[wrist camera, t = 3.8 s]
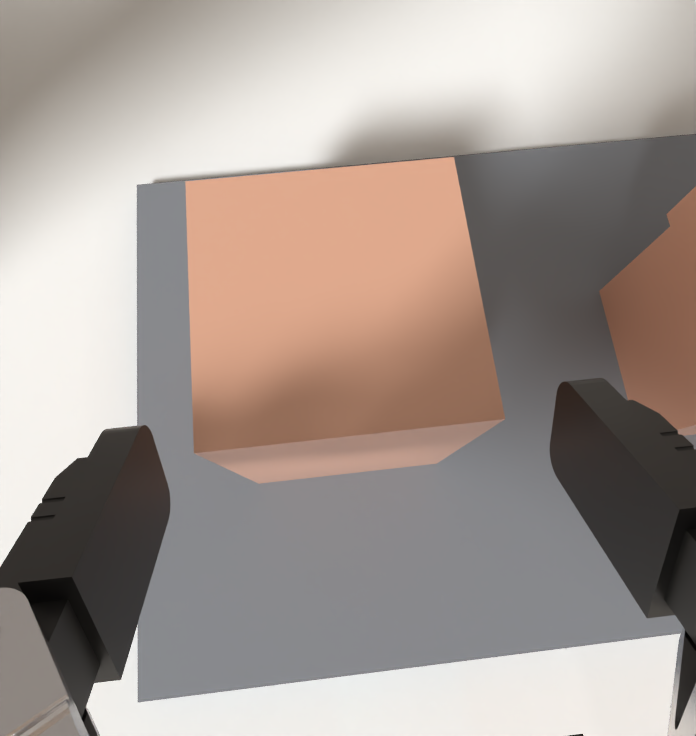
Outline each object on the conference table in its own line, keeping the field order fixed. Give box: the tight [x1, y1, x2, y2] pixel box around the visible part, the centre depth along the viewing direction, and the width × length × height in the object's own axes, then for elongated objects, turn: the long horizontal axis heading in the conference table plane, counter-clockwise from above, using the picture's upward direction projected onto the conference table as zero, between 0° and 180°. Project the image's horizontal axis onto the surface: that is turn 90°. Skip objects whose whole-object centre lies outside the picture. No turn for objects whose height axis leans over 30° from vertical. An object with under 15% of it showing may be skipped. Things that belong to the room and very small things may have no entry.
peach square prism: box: [185, 157, 505, 484], centre depth 15 cm, size 6×6×8 cm
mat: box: [137, 134, 696, 702], centre depth 19 cm, size 26×18×1 cm
